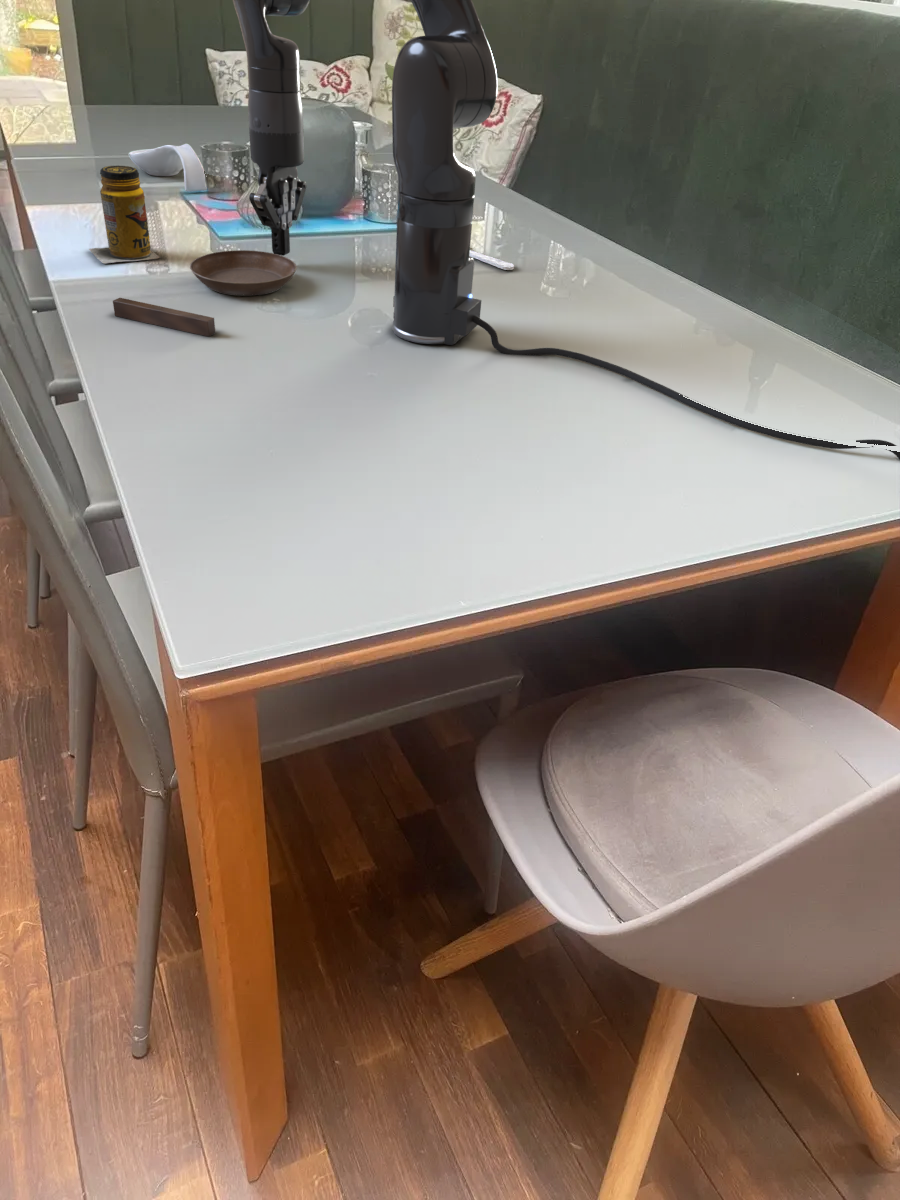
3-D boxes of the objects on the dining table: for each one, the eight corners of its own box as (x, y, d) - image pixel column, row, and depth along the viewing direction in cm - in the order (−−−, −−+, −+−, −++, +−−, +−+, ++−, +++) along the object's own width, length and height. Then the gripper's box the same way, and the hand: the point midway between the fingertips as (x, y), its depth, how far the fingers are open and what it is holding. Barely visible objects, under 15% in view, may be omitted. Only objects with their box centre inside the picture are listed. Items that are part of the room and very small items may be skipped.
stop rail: (215, 333, 112) (214, 317, 111) (209, 337, 111) (207, 321, 110) (122, 312, 115) (119, 297, 114) (114, 316, 114) (112, 300, 113)
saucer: (234, 308, 119) (232, 288, 118) (170, 280, 127) (168, 260, 125) (318, 288, 129) (318, 269, 127) (254, 262, 136) (253, 244, 135)
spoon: (500, 272, 141) (500, 268, 141) (423, 243, 151) (423, 240, 150) (523, 267, 144) (523, 263, 144) (446, 239, 154) (446, 236, 154)
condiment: (160, 259, 134) (150, 172, 127) (103, 264, 130) (89, 175, 123) (144, 246, 139) (133, 162, 132) (89, 251, 135) (74, 164, 128)
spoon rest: (121, 168, 180) (116, 129, 176) (177, 164, 186) (173, 126, 182) (170, 195, 165) (165, 153, 161) (228, 190, 171) (225, 149, 167)
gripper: (275, 136, 118) (281, 269, 129) (322, 123, 129) (323, 247, 139) (226, 128, 120) (236, 260, 131) (276, 116, 130) (281, 239, 141)
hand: (281, 253), depth 135 cm, fingers closed
